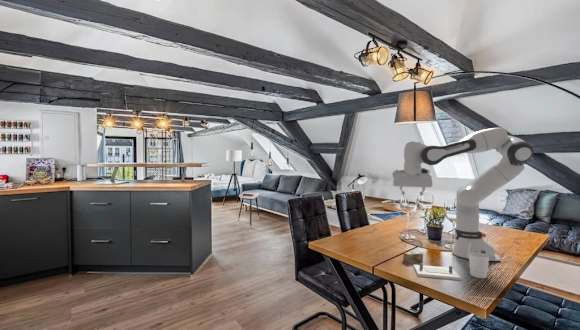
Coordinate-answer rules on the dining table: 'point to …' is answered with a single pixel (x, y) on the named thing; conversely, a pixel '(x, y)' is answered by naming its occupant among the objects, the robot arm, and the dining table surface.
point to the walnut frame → (412, 257)
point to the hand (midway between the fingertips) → (412, 194)
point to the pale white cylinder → (478, 264)
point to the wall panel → (436, 272)
